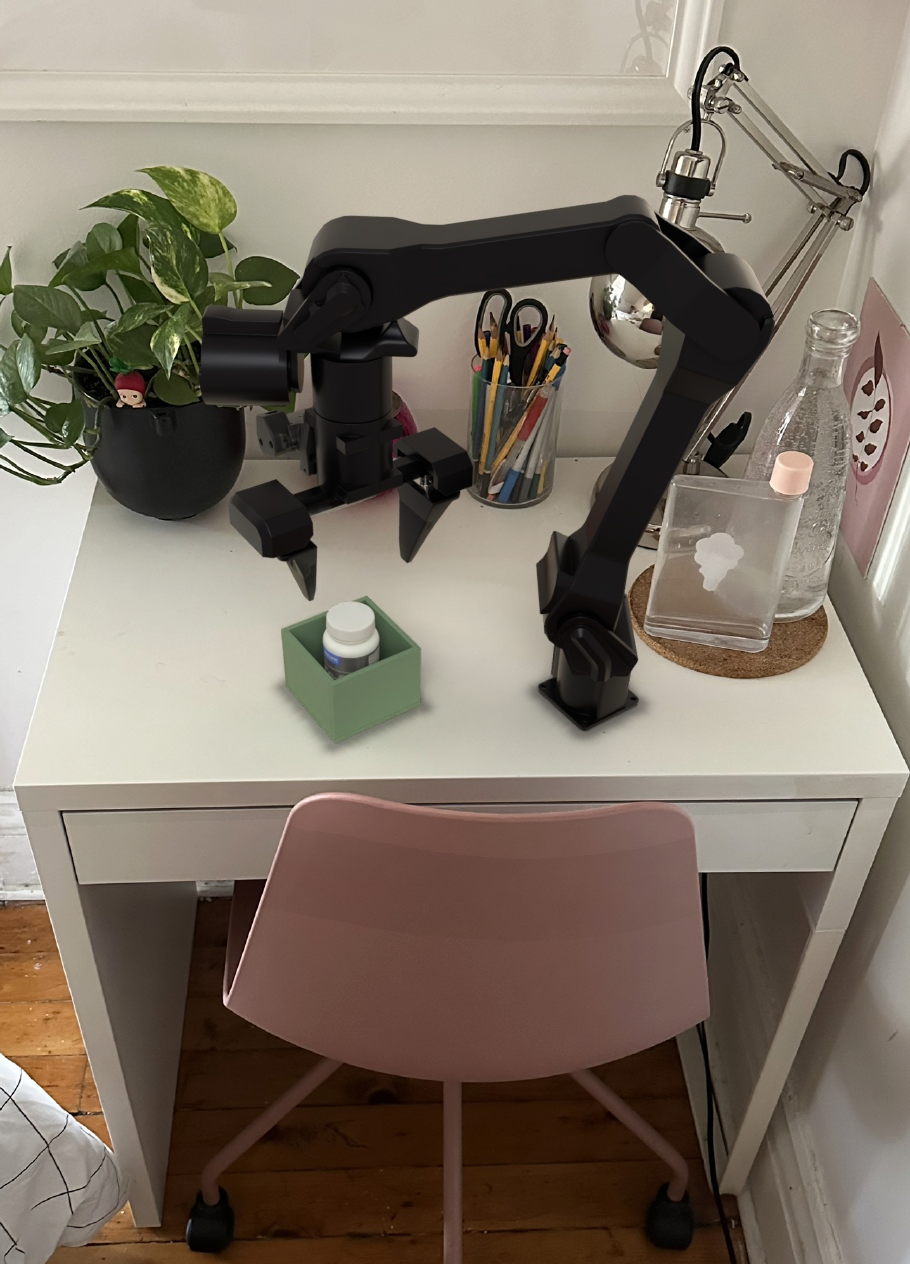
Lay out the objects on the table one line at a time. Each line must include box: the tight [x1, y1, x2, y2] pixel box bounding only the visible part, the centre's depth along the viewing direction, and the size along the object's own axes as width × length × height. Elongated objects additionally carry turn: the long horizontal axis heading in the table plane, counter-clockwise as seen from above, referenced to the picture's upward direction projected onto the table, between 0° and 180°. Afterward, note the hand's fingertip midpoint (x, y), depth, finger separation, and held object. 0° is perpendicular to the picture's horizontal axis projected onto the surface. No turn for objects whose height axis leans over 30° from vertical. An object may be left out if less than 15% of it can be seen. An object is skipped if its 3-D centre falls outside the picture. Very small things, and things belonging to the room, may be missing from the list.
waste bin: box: [280, 595, 422, 744], centre depth 97 cm, size 8×8×6 cm
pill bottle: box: [323, 601, 380, 680], centre depth 96 cm, size 5×5×8 cm
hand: (358, 578), depth 92 cm, fingers open, 9 cm apart
